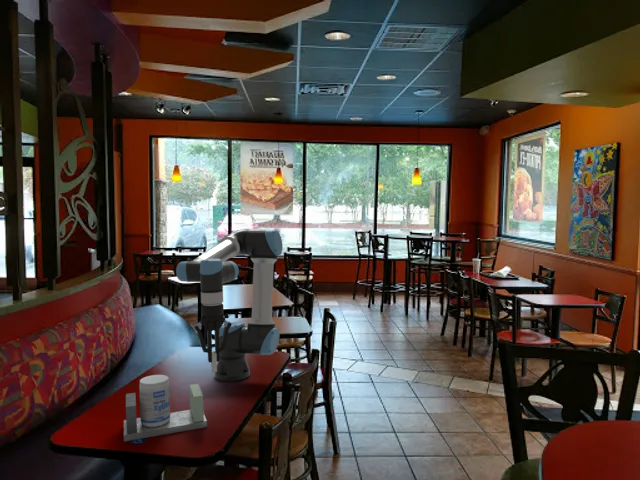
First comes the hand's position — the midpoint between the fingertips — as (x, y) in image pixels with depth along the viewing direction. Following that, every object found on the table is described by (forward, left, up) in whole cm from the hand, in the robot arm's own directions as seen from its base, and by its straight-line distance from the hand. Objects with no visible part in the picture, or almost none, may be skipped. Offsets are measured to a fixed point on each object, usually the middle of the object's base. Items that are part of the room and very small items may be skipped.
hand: (214, 370), depth 171 cm
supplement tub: (+20, -1, -15) cm, 25 cm away
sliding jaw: (+6, 0, -15) cm, 16 cm away
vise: (+17, 0, -17) cm, 24 cm away
